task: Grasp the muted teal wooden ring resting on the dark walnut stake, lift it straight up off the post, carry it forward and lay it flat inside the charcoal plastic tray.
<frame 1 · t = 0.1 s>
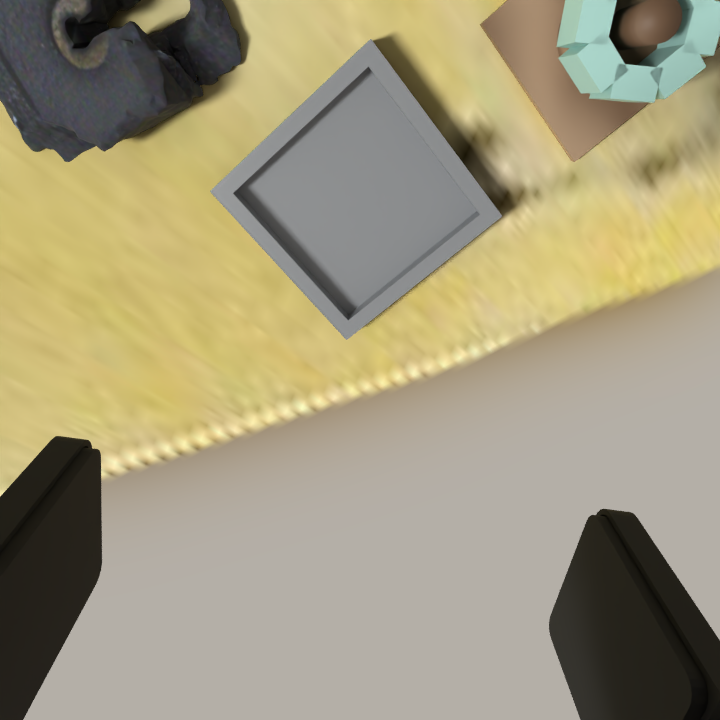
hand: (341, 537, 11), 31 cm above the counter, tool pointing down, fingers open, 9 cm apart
ring: (625, 28, 32), point 4 cm above the counter, touching stake
tray: (357, 199, 39), on the counter
stake: (598, 36, 36), on the counter
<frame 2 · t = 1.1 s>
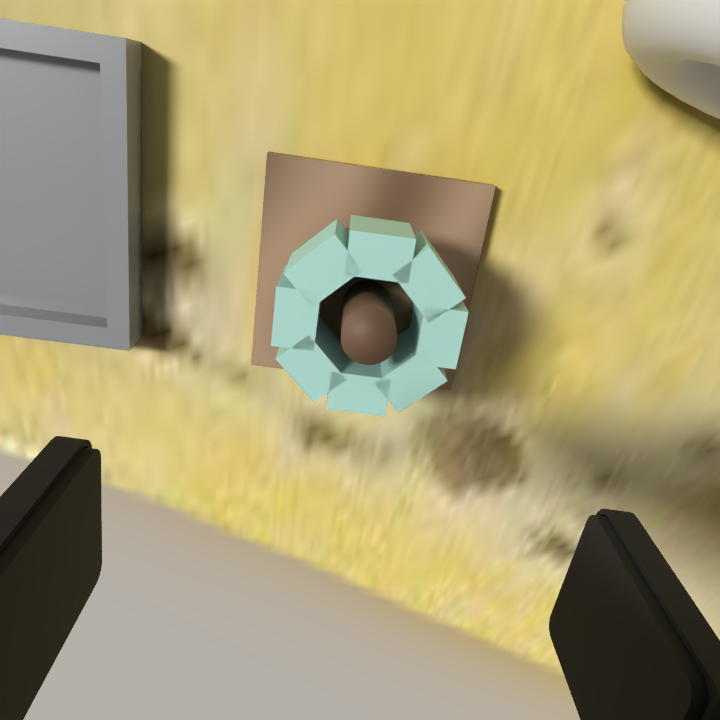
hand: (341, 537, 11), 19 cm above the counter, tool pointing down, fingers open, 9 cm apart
ring: (367, 303, 25), point 4 cm above the counter, touching stake
stake: (366, 277, 29), on the counter
donut: (688, 60, 25), on the counter
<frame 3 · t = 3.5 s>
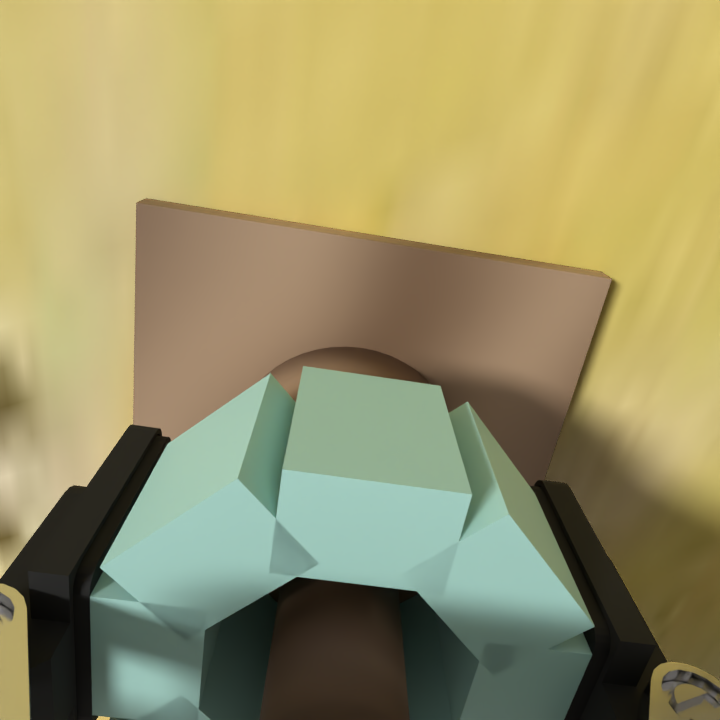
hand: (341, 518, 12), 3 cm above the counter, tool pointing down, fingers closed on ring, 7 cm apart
ring: (341, 542, 11), point 4 cm above the counter, touching gripper, stake
stake: (344, 434, 15), on the counter
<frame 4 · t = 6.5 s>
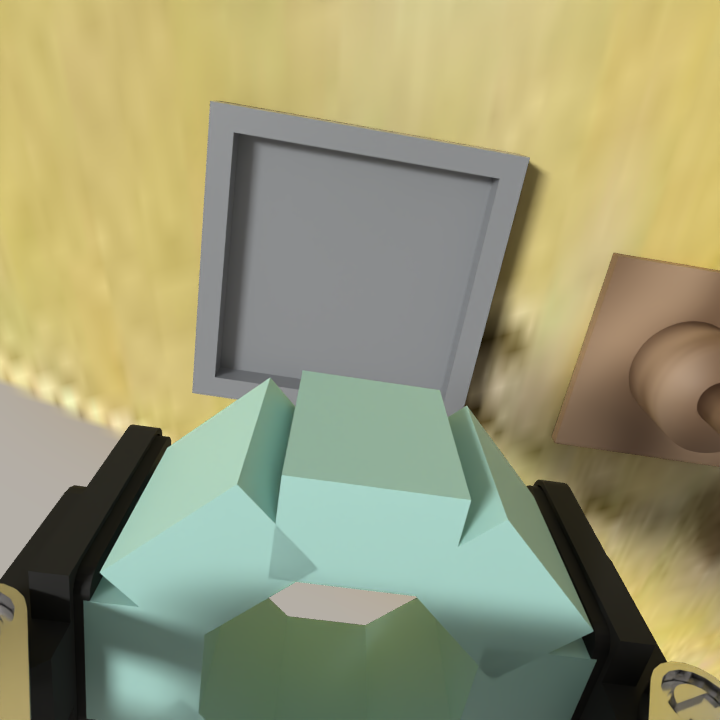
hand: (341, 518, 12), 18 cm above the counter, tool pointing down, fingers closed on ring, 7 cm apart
ring: (340, 546, 11), point 19 cm above the counter, touching gripper
tray: (348, 273, 28), on the counter
stake: (676, 365, 30), on the counter
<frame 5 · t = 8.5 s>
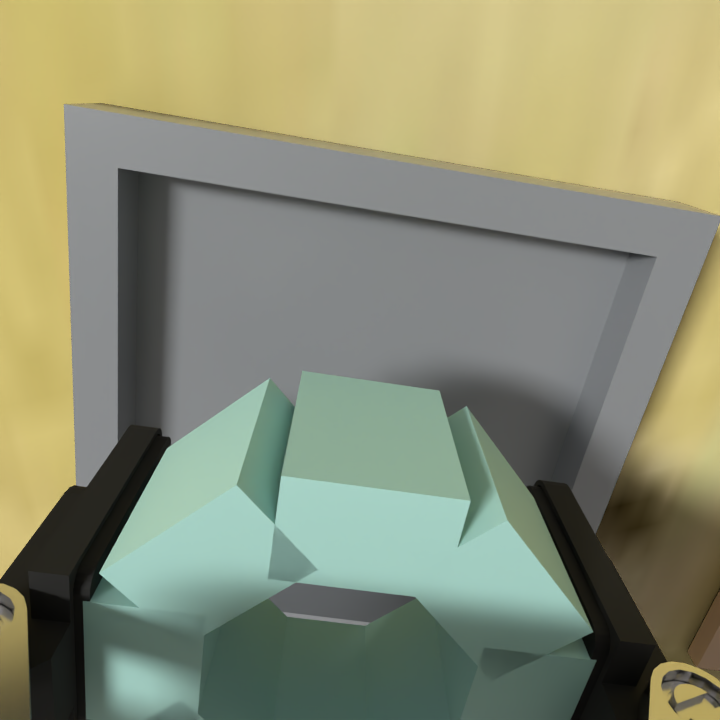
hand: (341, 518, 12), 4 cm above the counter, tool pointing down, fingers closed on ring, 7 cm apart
ring: (340, 546, 11), point 5 cm above the counter, touching gripper
tray: (353, 409, 16), on the counter
when the fingers open (3 cm above the counter, at t = 9.8 s): ring drops 3 cm, resting on tray.
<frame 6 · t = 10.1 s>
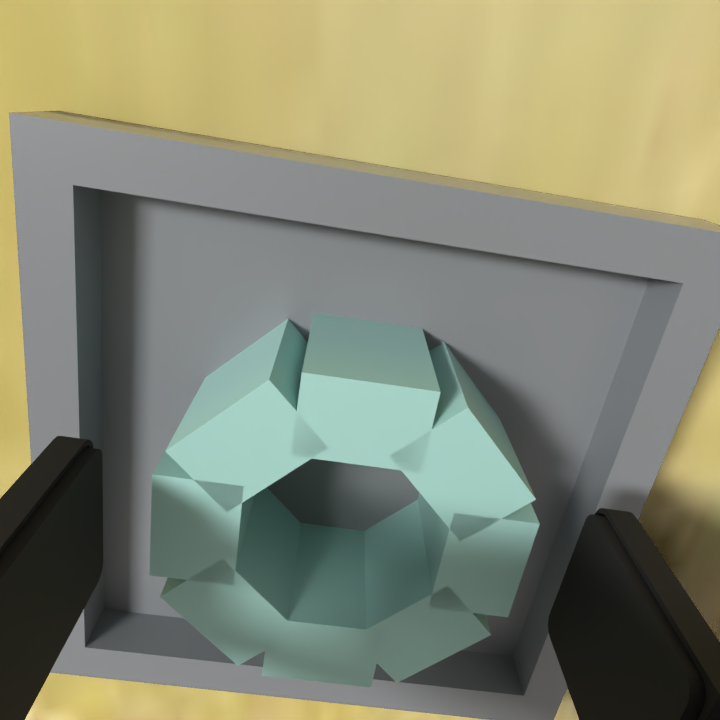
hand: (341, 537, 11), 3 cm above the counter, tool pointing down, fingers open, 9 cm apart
ring: (343, 461, 14), point 1 cm above the counter, touching tray
tray: (344, 446, 14), on the counter
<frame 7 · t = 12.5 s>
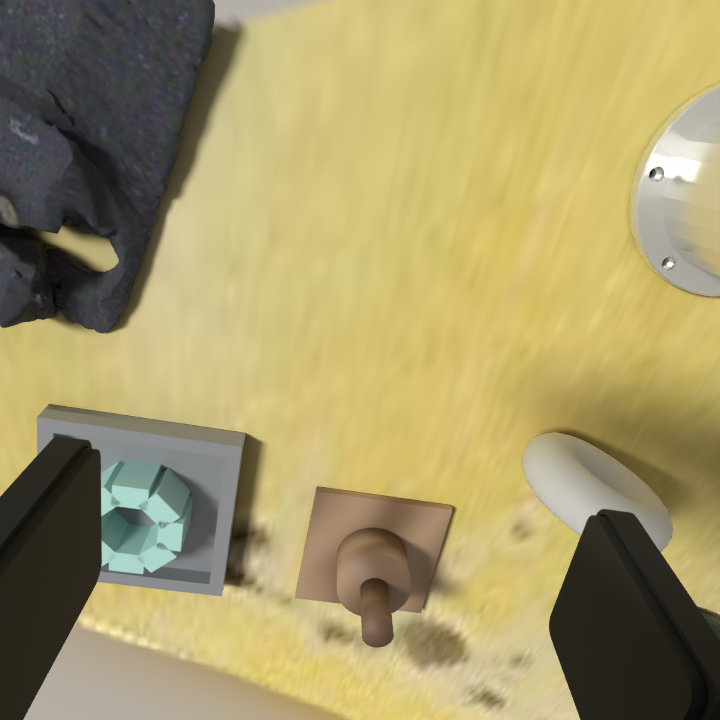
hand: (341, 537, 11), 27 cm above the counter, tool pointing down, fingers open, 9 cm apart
ring: (141, 503, 43), point 1 cm above the counter, touching tray
tray: (143, 497, 43), on the counter
stake: (371, 550, 46), on the counter
donut: (565, 448, 43), on the counter
dark slate chunk: (58, 126, 34), on the counter
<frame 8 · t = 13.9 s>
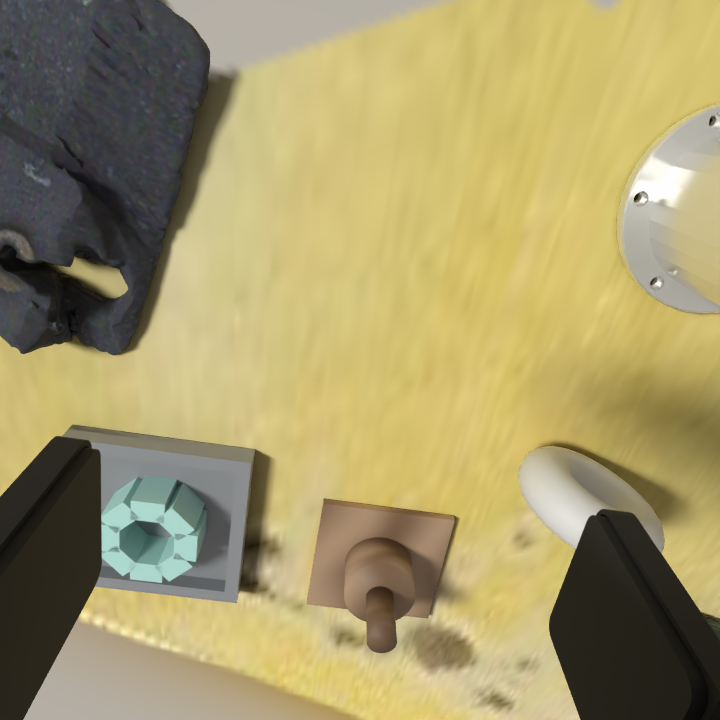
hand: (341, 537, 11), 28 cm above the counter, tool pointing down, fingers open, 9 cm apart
ring: (159, 516, 45), point 1 cm above the counter, touching tray
tray: (161, 510, 46), on the counter
stake: (378, 558, 48), on the counter
donut: (563, 460, 44), on the counter
dark slate chunk: (70, 165, 36), on the counter
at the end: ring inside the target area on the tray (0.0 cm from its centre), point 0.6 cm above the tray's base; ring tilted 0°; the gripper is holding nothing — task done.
